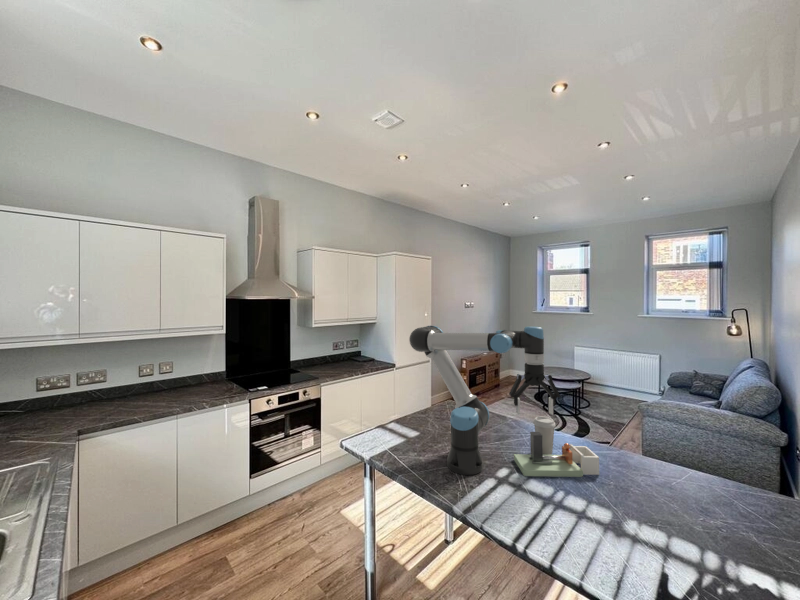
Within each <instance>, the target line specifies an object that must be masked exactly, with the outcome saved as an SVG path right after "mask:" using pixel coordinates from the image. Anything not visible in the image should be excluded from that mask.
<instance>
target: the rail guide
mask: <svg viewBox="0 0 800 600" xmlns="http://www.w3.org/2000/svg"><path fill="white" fill-rule="evenodd" d="M529 459H530V460H533V459H532V457H529ZM532 464H552V461H532Z"/></svg>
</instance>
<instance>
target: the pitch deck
mask: <svg viewBox="0 0 800 600" xmlns="http://www.w3.org/2000/svg"><path fill="white" fill-rule="evenodd" d="M543 456H562V454H551V455H544V454H543ZM529 457H531V453H529V454H524V453H522V454H521V453H520V454H518V453H516V454H515V453H514V454H513V461H514V462H515V464H516V465H517V467H518V468H519V470H520V472H521V473H522V475H523V477H553V478H554V477H558V478H559V477H561V478H563V477H564V478H567V477H568V478H569V477H570V478H581V477H582V478H583V477H584V475H583V470H582V469H581V466H579V465H577V464H578V463H575V462H574V461H573V460H572V462H573V464H568V463H567V462H566V461H552V464H532V461H534V460H530V459H529ZM543 461H548V460H543Z"/></svg>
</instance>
